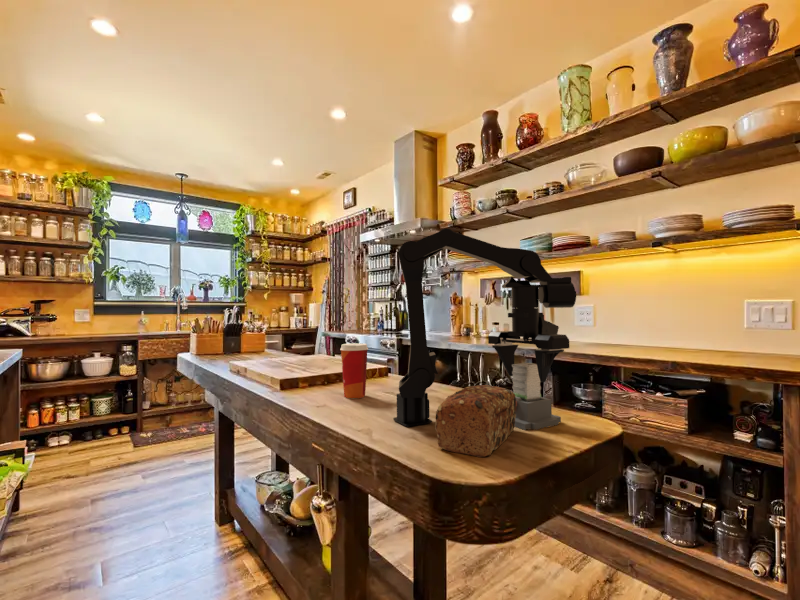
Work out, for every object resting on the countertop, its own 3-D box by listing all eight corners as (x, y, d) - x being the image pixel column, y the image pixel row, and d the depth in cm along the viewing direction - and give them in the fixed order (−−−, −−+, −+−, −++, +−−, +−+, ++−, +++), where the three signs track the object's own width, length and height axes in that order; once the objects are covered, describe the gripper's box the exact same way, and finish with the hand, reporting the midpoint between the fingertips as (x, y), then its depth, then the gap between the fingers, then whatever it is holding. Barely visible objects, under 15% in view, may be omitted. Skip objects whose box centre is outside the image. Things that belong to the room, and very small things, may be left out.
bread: (490, 461, 66) (489, 400, 66) (432, 450, 71) (431, 393, 71) (518, 431, 82) (518, 381, 82) (469, 423, 87) (468, 377, 88)
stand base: (528, 431, 81) (527, 403, 81) (491, 418, 90) (491, 393, 91) (564, 423, 86) (563, 397, 86) (526, 412, 96) (525, 388, 96)
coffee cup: (353, 392, 121) (353, 342, 121) (374, 395, 116) (374, 343, 117) (333, 397, 114) (333, 344, 115) (355, 401, 109) (354, 346, 110)
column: (525, 406, 86) (525, 366, 86) (512, 402, 89) (511, 364, 89) (541, 403, 88) (540, 364, 88) (527, 400, 91) (527, 362, 92)
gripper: (586, 307, 85) (587, 381, 84) (520, 308, 101) (521, 370, 101) (549, 308, 79) (551, 387, 79) (486, 308, 96) (487, 374, 95)
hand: (526, 378), depth 89 cm, fingers open, 9 cm apart
